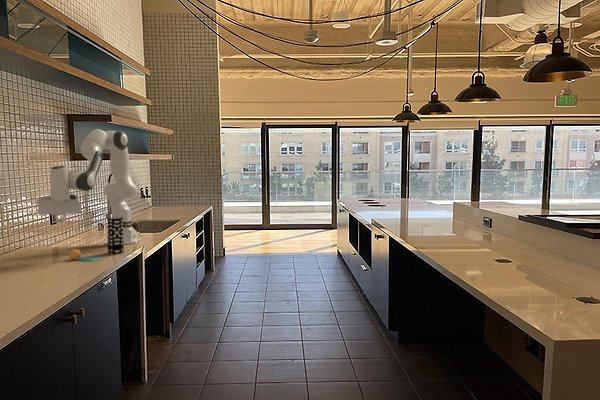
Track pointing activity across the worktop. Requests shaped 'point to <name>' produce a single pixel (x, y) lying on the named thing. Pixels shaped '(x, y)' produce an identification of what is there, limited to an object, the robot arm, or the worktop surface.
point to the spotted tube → (115, 235)
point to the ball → (75, 254)
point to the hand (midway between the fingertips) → (60, 222)
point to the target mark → (89, 258)
